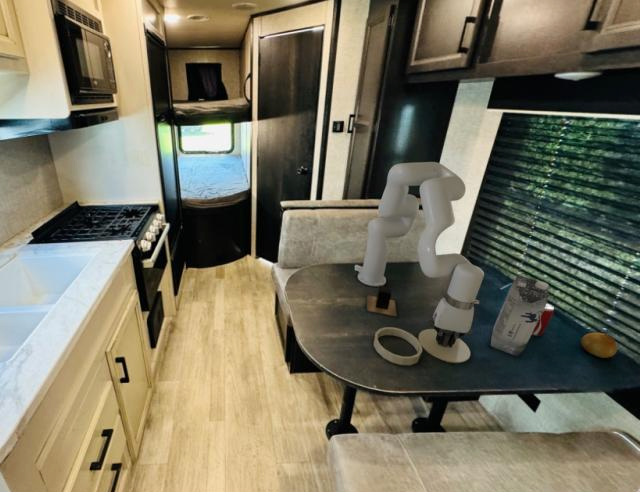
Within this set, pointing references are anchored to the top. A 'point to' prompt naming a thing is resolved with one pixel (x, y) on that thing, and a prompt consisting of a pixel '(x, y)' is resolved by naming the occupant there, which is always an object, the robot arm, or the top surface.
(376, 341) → the cream hollow ring
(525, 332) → the juice carton
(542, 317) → the soda can
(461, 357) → the lid
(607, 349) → the fruit
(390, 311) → the trivet
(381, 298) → the block
